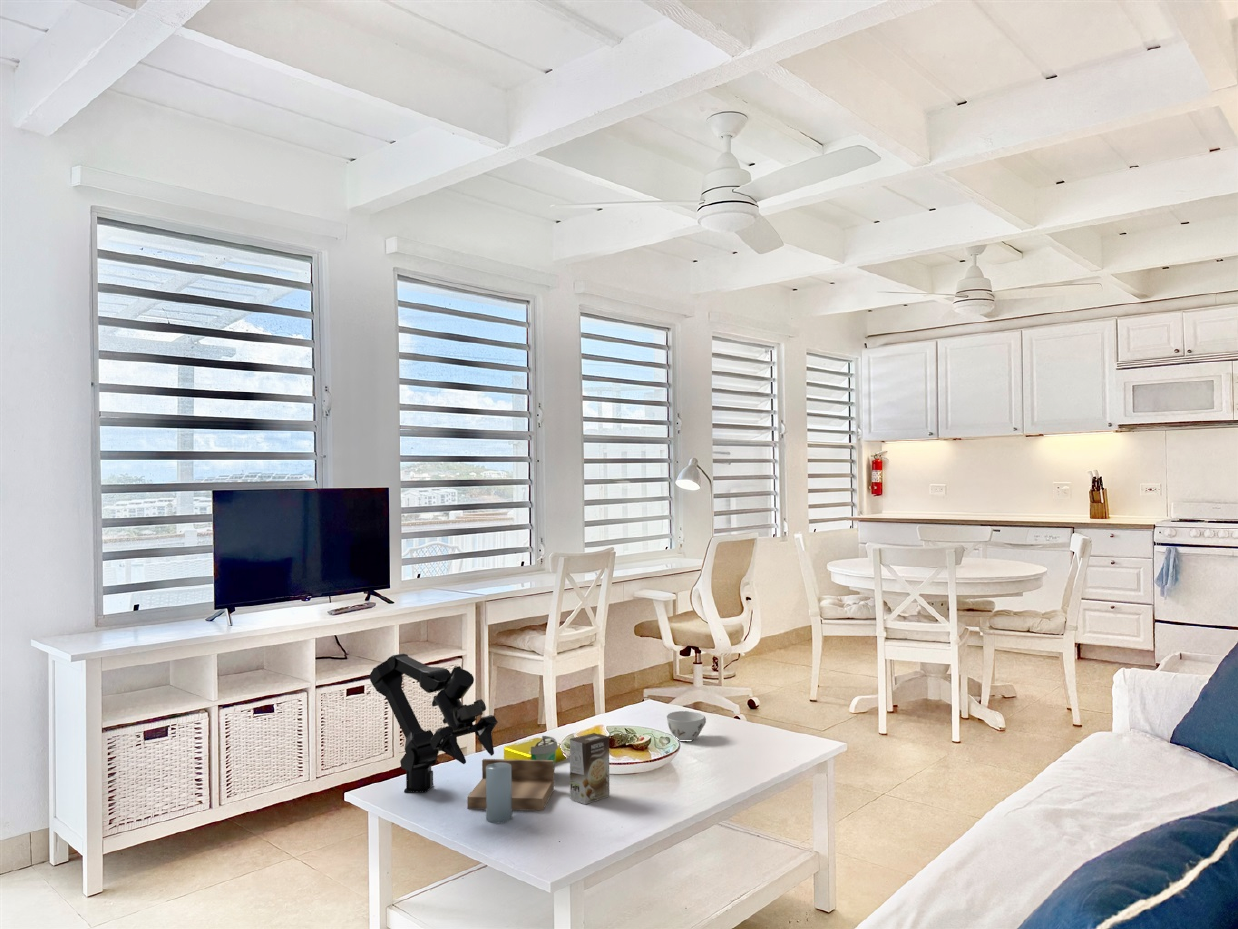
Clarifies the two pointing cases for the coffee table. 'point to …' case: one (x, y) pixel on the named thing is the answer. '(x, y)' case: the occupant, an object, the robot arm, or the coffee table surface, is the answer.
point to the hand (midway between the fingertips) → (479, 758)
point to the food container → (545, 749)
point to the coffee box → (589, 768)
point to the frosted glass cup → (498, 792)
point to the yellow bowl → (528, 750)
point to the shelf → (520, 784)
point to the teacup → (685, 724)
